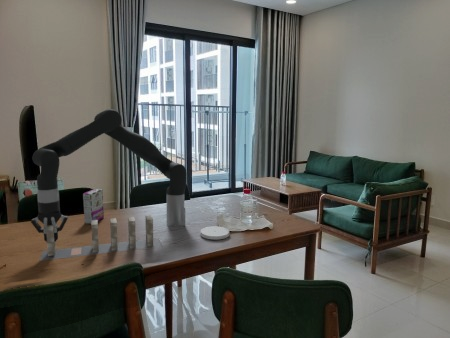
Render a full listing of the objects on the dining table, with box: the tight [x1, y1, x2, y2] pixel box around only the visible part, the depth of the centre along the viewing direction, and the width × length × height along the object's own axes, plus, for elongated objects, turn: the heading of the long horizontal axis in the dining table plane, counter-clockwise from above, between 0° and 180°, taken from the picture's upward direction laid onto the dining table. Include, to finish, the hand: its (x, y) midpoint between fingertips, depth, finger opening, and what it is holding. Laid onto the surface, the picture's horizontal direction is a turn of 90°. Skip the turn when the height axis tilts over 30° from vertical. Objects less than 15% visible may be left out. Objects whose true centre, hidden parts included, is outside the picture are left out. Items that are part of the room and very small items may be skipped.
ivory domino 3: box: [127, 216, 137, 248], centre depth 147 cm, size 2×6×12 cm, turn 21°
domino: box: [46, 225, 57, 256], centre depth 135 cm, size 2×6×12 cm, turn 21°
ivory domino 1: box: [90, 220, 100, 252], centre depth 141 cm, size 2×6×12 cm, turn 21°
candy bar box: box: [82, 188, 105, 225], centre depth 180 cm, size 11×5×16 cm, turn 168°
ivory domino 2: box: [109, 217, 118, 250], centre depth 144 cm, size 2×6×12 cm, turn 21°
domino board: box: [39, 237, 164, 262], centre depth 144 cm, size 48×10×1 cm, turn 111°
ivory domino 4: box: [144, 214, 154, 246], centre depth 149 cm, size 2×6×12 cm, turn 21°
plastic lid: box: [200, 225, 230, 240], centre depth 165 cm, size 14×14×2 cm
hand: (51, 241), depth 136 cm, fingers closed on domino, 2 cm apart
